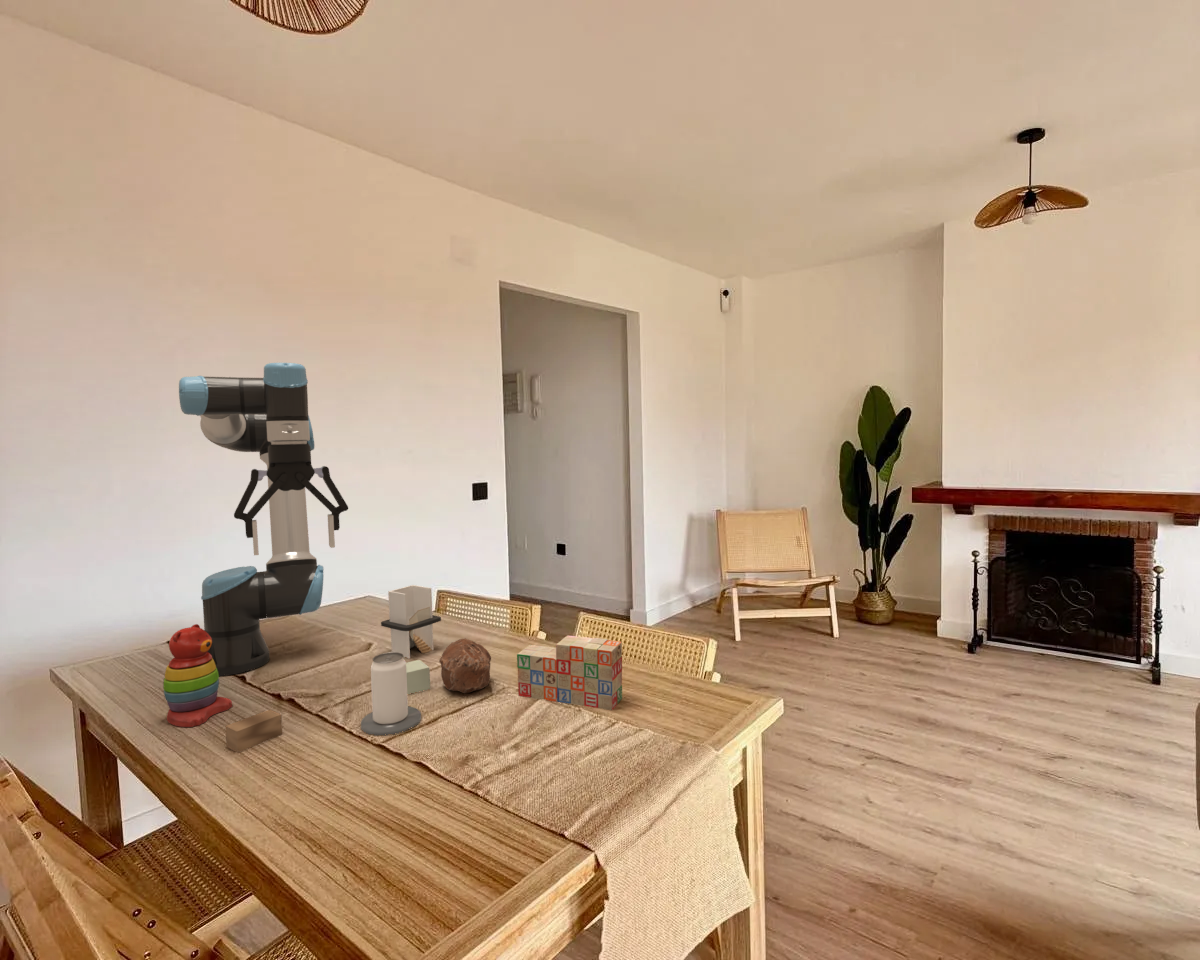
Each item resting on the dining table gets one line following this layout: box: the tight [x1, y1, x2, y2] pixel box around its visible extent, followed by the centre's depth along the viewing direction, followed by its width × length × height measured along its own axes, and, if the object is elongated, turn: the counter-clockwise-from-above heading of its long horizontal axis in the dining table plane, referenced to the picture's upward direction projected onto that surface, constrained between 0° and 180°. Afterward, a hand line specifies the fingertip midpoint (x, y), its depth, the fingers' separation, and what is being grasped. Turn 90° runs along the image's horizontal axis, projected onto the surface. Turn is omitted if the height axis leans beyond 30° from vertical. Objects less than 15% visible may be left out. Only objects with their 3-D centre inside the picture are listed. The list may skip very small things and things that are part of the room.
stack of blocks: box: [516, 634, 623, 711], centre depth 132 cm, size 21×6×12 cm, turn 69°
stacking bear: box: [162, 623, 233, 728], centre depth 127 cm, size 11×10×18 cm
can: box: [370, 651, 409, 725], centre depth 122 cm, size 6×6×12 cm
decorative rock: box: [439, 637, 492, 694], centre depth 139 cm, size 13×11×10 cm
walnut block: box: [225, 709, 283, 753], centre depth 116 cm, size 8×4×4 cm, turn 146°
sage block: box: [406, 659, 431, 695], centre depth 139 cm, size 6×6×5 cm
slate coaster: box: [360, 705, 422, 736], centre depth 123 cm, size 11×11×1 cm
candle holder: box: [380, 584, 442, 659], centre depth 162 cm, size 25×24×16 cm
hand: (295, 550), depth 126 cm, fingers open, 13 cm apart
